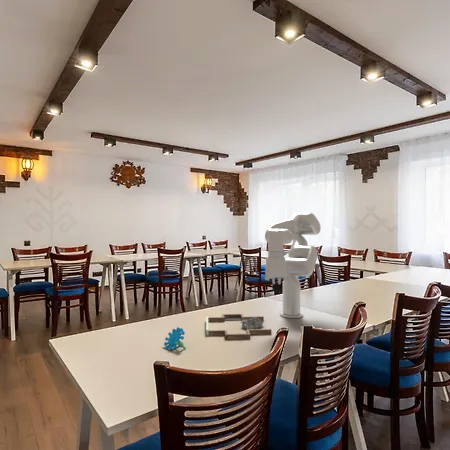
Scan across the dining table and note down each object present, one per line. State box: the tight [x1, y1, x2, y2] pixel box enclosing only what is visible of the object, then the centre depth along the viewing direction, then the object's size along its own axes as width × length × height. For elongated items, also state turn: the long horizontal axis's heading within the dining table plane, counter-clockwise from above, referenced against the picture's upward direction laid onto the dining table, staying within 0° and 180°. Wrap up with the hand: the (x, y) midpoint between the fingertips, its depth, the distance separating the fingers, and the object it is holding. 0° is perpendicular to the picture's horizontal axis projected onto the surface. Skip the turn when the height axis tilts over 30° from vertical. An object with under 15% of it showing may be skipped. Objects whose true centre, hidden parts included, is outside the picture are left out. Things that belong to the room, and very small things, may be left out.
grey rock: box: [240, 316, 265, 330], centre depth 166 cm, size 11×8×4 cm
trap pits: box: [224, 318, 242, 322], centre depth 165 cm, size 31×9×1 cm, turn 3°
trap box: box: [207, 313, 272, 340], centre depth 165 cm, size 33×29×2 cm
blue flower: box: [163, 326, 187, 351], centre depth 140 cm, size 11×6×10 cm
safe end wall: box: [205, 316, 209, 337], centre depth 165 cm, size 22×1×2 cm, turn 3°
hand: (276, 291), depth 166 cm, fingers closed
